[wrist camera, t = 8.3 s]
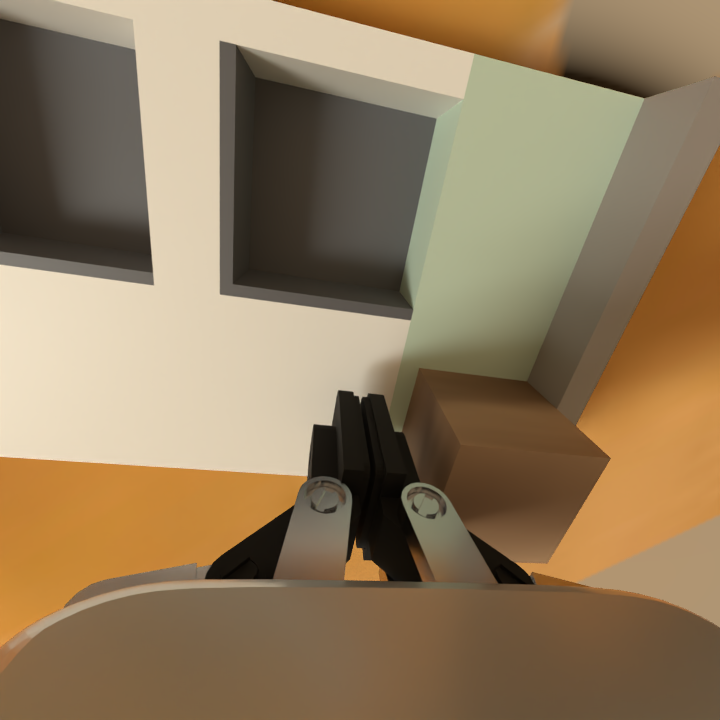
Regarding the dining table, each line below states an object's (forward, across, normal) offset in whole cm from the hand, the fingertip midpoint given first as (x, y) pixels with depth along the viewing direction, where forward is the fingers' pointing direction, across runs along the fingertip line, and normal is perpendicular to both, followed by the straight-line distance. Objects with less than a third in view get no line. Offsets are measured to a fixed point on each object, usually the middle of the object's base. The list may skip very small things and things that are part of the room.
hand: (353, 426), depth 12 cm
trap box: (+4, +6, -4) cm, 8 cm away
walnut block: (+1, -4, 0) cm, 5 cm away
